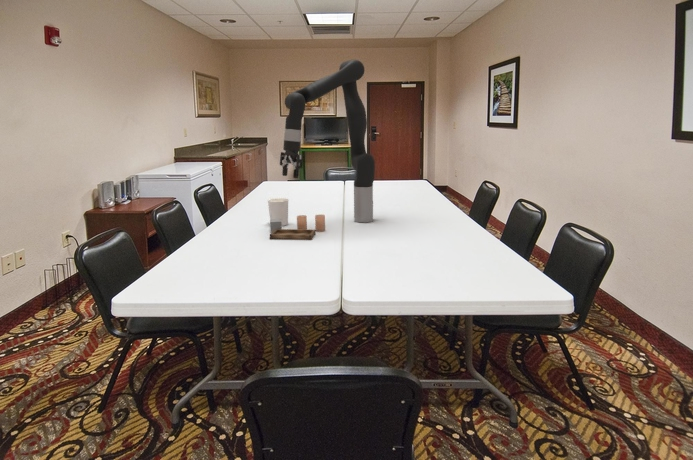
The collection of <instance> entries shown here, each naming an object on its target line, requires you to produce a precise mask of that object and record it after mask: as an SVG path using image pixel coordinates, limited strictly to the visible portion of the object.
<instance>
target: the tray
mask: <svg viewBox="0 0 693 460" xmlns="http://www.w3.org/2000/svg"><path fill="white" fill-rule="evenodd" d="M316 232H317V231H316V229H308V228H307V229H297V228H294V229H293V228H282V229H275V230H274V231H273V232H272V233H271V232H270V234H269V240H291V241H292V240H295V241H296V240H297V241H298V240H299V241H301V240H302V241H303V240H304V241H305V240H306V241H312V240H313V239H314V237H315V235H316V234H317V233H316Z"/></svg>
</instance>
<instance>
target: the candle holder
mask: <svg viewBox="0 0 693 460" xmlns="http://www.w3.org/2000/svg"><path fill="white" fill-rule="evenodd" d="M267 203H268V205H267V206H268V212H269V221H270V220H276V219H281V226H282V227H284V226H287V225H288V224H289V199H288V198H286V197H285V198H284V197H277V198H275V197H274V198H270V199H268V200H267Z"/></svg>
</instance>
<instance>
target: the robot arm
mask: <svg viewBox="0 0 693 460" xmlns="http://www.w3.org/2000/svg"><path fill="white" fill-rule="evenodd" d="M364 74H365V65H364V63H363V62H362V61H361V60H359V59H350V60H346V61H343V62H342V63H341V64H340V66H339V69H338V70H337V71H336V72H334V73H332V74H330V75H327V76H324V77H322V78H319V79H317V80H315V81H312V82H311V83H310V84H308V85H306V86H304V87H303V88H300V89H298V90H295V91H293V92H290V93H289V94H288V95H286V96H285V99H284V105H285V107H286V108H287V109H289V110H288V115H287V116H286V118H285V126H284V134H283V147H282V148H283V151H281V152H280V158H279V166H281V167H282V172H281V173H282V174H281V175H282V176H284V177H287V176H288V169H289V165H291V166H292V167H293V175H292V176H293V179H299V172H300V170H301V169H303V160H304V159H303V157H304V156H303V154H299V152H301V148H302V145H301V144H302V126H303V125H302V124H303V123H302V122H303V117H304V114H305V110H306V104H307V103H310V102H314V101H316V100H318V99H320V98H322V97H324V96H325V95H327V94H329V93H331V92H332V91H333V90H336V89H338V88H340V87H341V88H342V92H343V100H344V106H345V107H344V108H345V115H346V116H345V117H346V123H347V130H348V136H349V143H350V145H349V146H350V162H351V163H350V164H351V167H352V168H353V170H355V171H356V178H355V179H354V181H353V219H354V222H356V223H372V222H373V221H374V199H373V198H374V195H373V193H374V192H373V191H374V189H373V188H374V181H375V176H376V175H375V174H376V173H375V172H376V162H375V159H374V156H373V155H372V154H370V153H367V151H366V144H365V139H366V138H365V137H366V133H367V127H368V121H367V114H366V113H367V111H366V108H365V105H364V103H363V101H362V99H361V97H360V94H359V91H358V86H357V81H359V80H361V79H362V77H363V76H364Z"/></svg>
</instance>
